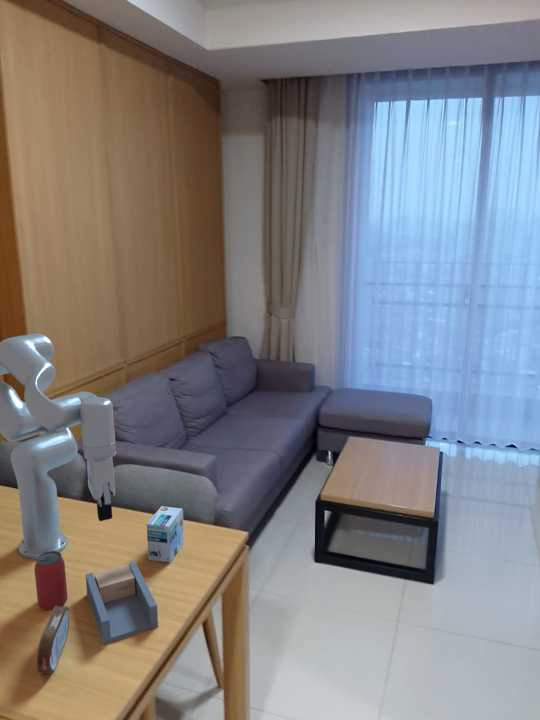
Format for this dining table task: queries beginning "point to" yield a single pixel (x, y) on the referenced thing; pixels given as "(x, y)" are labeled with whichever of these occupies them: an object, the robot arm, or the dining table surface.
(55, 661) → the tin
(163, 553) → the light bulb box
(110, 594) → the brown cardboard box
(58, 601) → the beer can
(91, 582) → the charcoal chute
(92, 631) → the dining table surface
